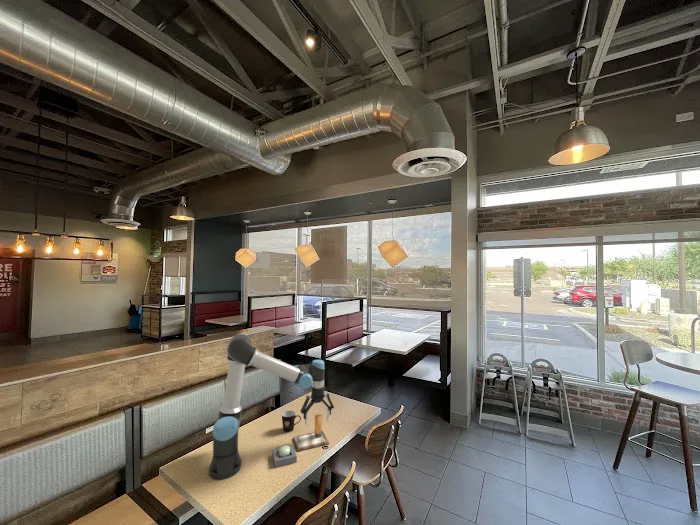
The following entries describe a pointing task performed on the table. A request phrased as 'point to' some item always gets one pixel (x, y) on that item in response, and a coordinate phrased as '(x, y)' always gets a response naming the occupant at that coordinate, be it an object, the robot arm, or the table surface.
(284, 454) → the button
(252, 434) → the table surface
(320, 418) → the marker
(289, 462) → the button housing
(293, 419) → the coffee mug
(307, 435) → the board
